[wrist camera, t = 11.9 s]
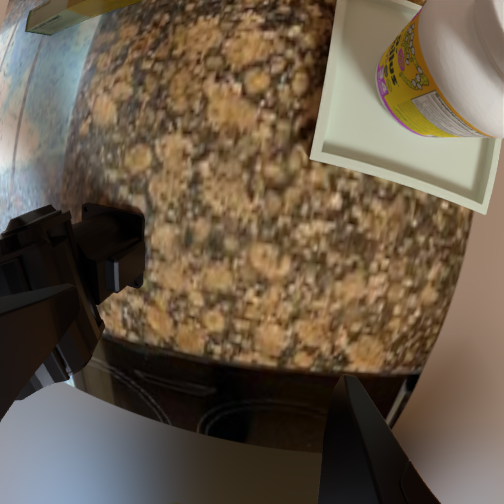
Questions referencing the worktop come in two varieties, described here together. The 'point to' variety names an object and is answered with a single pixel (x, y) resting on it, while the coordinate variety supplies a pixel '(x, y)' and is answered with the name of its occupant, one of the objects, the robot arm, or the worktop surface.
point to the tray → (382, 124)
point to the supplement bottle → (447, 71)
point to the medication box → (68, 13)
